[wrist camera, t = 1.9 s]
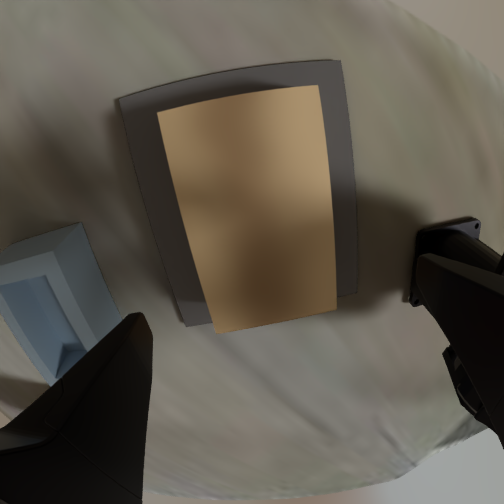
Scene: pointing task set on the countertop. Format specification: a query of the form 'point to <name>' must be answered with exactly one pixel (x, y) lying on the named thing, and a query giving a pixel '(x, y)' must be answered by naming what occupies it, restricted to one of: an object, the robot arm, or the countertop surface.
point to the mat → (162, 188)
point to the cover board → (256, 204)
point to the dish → (55, 299)
